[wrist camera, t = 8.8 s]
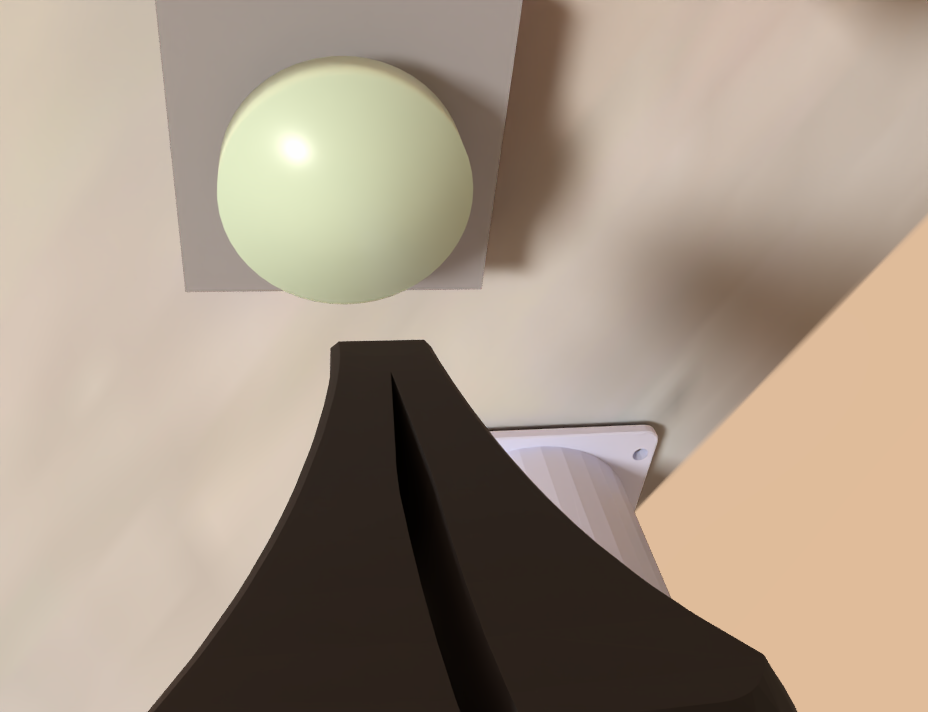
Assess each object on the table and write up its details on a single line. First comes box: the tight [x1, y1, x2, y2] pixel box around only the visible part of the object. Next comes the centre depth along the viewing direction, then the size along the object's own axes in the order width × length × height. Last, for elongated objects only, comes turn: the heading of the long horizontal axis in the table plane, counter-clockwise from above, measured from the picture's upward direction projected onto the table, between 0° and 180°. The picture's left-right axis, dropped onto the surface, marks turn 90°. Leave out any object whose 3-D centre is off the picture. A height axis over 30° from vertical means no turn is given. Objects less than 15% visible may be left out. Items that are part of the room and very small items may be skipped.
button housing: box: [155, 0, 523, 292], centre depth 20 cm, size 7×7×2 cm
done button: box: [217, 56, 473, 304], centre depth 18 cm, size 5×5×3 cm
